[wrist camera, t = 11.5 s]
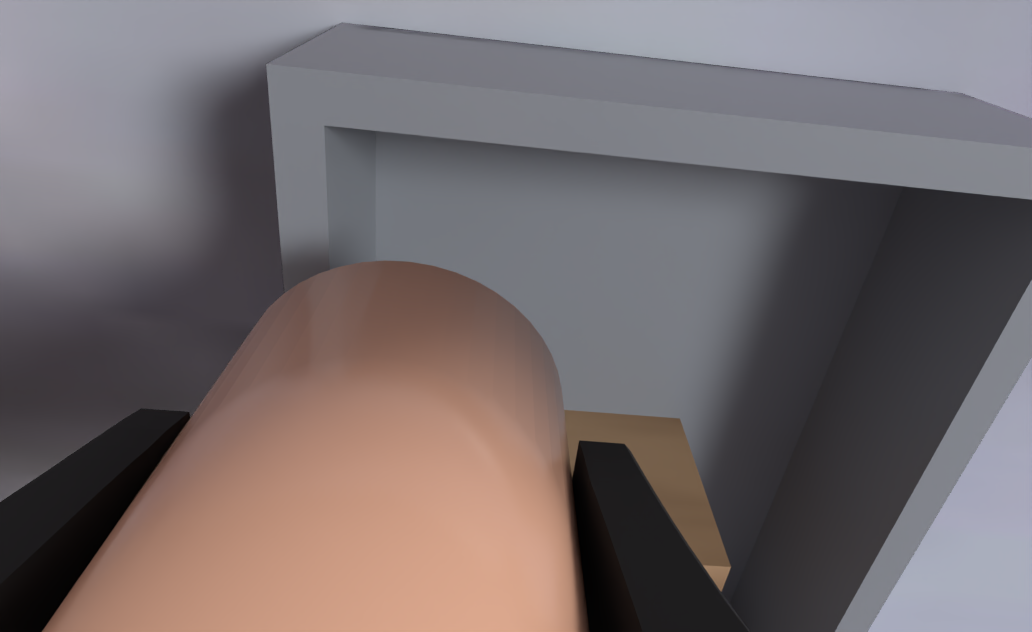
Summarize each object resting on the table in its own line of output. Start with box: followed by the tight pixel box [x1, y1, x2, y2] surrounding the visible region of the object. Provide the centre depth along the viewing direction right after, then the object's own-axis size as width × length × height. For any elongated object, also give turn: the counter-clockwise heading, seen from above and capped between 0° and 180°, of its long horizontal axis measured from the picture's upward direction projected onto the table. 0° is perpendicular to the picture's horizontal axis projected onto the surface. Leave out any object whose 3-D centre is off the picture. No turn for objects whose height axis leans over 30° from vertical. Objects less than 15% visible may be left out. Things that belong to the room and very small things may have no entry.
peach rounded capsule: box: [42, 261, 590, 632], centre depth 7 cm, size 5×5×7 cm
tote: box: [266, 23, 1032, 632], centre depth 17 cm, size 18×14×5 cm
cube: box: [564, 410, 731, 592], centre depth 17 cm, size 5×5×5 cm
